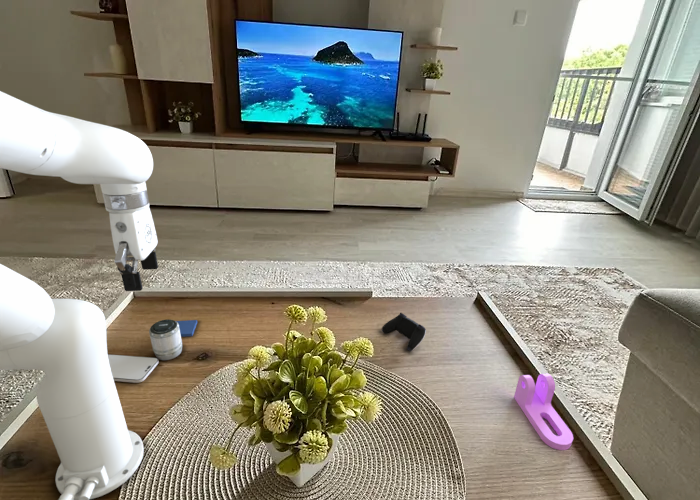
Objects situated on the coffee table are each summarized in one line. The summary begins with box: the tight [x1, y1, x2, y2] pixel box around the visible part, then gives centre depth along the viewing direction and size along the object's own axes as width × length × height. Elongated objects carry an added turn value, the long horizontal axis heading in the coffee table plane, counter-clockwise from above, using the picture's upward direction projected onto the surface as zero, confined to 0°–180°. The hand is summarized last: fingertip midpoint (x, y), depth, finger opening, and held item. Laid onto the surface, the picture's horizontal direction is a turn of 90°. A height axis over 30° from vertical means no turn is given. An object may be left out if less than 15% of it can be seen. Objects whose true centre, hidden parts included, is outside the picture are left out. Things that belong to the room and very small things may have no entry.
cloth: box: [175, 319, 198, 338], centre depth 101 cm, size 6×6×1 cm
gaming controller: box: [381, 312, 427, 352], centre depth 100 cm, size 11×4×7 cm
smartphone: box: [108, 353, 160, 384], centre depth 87 cm, size 7×1×15 cm
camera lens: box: [148, 318, 183, 361], centre depth 92 cm, size 6×6×8 cm
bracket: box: [513, 373, 574, 451], centre depth 76 cm, size 13×6×7 cm, turn 7°
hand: (142, 279), depth 83 cm, fingers open, 9 cm apart
